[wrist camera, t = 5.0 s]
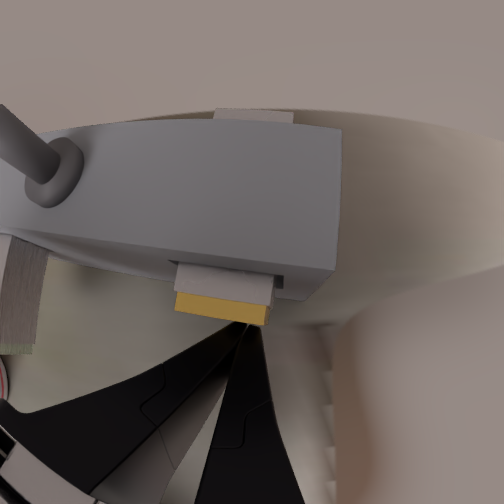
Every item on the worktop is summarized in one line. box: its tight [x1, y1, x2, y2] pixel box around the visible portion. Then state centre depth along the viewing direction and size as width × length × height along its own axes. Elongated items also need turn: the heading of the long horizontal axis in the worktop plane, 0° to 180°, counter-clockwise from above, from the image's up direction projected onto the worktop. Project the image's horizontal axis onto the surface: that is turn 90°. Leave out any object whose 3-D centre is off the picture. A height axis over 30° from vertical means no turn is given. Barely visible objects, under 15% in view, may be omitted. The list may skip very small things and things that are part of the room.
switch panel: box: [0, 104, 342, 301], centre depth 11 cm, size 4×18×14 cm, turn 81°
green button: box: [0, 232, 50, 355], centre depth 12 cm, size 8×3×3 cm, turn 171°
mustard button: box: [174, 108, 294, 325], centre depth 11 cm, size 8×3×3 cm, turn 171°
